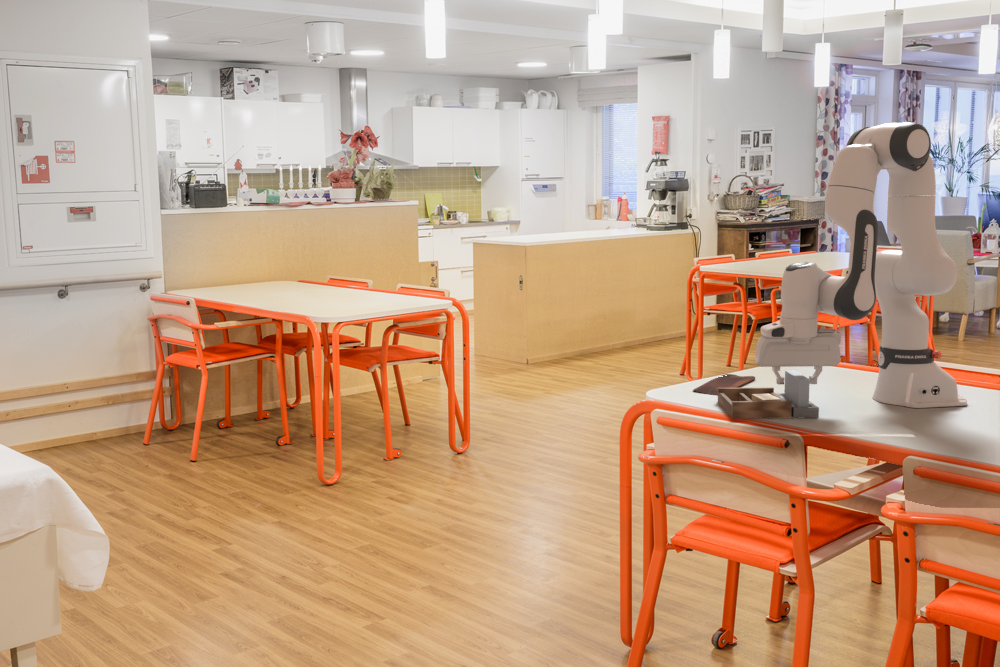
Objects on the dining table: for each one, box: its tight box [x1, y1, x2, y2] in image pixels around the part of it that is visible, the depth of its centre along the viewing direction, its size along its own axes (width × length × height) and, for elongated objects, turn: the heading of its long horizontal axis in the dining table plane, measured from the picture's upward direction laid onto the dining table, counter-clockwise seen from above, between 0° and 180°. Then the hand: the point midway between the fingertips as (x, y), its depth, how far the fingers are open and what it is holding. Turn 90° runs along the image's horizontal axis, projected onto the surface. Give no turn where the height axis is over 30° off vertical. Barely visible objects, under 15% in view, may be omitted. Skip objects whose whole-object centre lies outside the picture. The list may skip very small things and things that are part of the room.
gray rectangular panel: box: [783, 369, 811, 407], centre depth 233 cm, size 2×12×9 cm, turn 179°
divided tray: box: [717, 387, 792, 419], centre depth 234 cm, size 14×17×4 cm
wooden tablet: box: [692, 373, 756, 396], centre depth 263 cm, size 26×2×10 cm
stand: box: [775, 392, 820, 419], centre depth 233 cm, size 6×17×2 cm, turn 179°
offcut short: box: [752, 393, 781, 401], centre depth 234 cm, size 4×7×2 cm, turn 8°
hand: (796, 383), depth 233 cm, fingers open, 7 cm apart
